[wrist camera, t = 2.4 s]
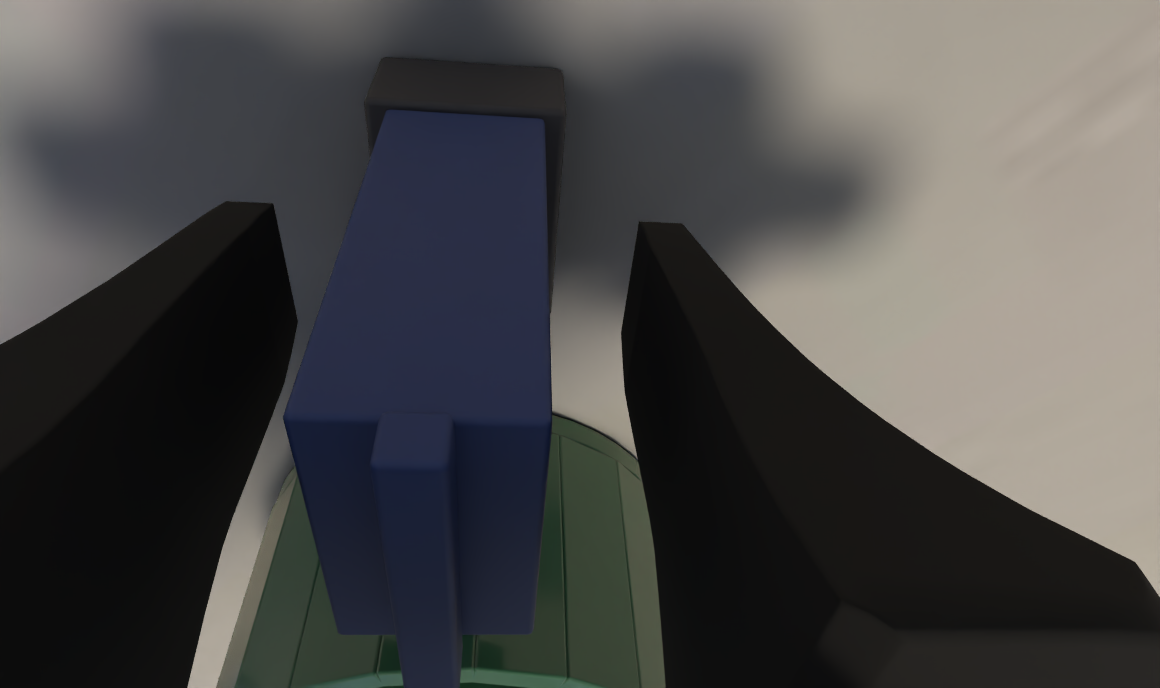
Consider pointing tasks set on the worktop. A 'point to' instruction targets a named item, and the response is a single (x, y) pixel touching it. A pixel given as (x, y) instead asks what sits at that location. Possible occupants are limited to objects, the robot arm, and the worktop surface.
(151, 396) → the robot arm
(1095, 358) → the worktop surface
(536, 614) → the cup
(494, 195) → the blue block
